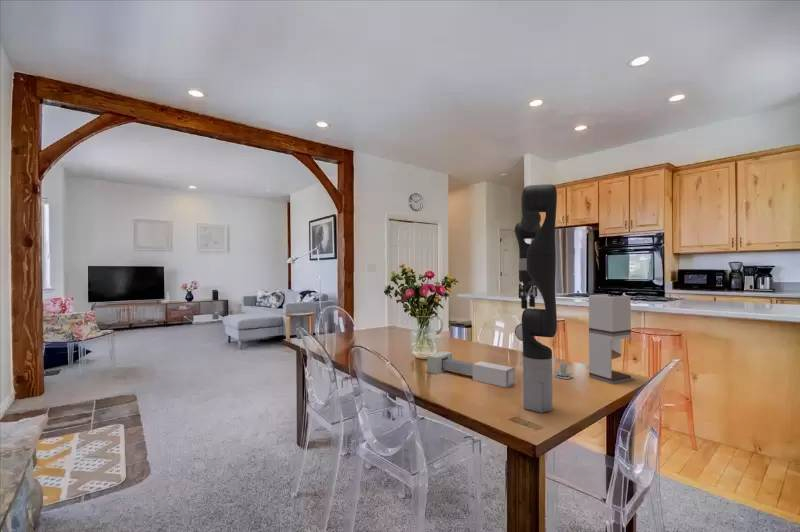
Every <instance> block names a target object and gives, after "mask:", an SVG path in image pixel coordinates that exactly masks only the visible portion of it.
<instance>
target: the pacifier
mask: <svg viewBox="0 0 800 532" xmlns="http://www.w3.org/2000/svg"><path fill="white" fill-rule="evenodd" d="M559 368H560V371H559V370H556V369H554V377H555V378H558V379H563V380H571V379H572V377H571V375H574V373H573V372H567V369H568V365H567V362H564V361H562V362H560V363H559Z"/></svg>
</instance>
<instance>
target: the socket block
mask: <svg viewBox="0 0 800 532" xmlns="http://www.w3.org/2000/svg"><path fill="white" fill-rule="evenodd" d="M443 358H448V359H453V353H452V352H451V351H450V352H449V351H443V350H442V351H438V352H435V353H432V354H428V355H427V356H426V362H427V363H426V364H427V365H426V368H427V369H426V370H427V371H426V372H427V373H431V374H434V375H438V374H439V375H440V374H441V373H444V372H447V371H448V370H445V369H442V359H443Z"/></svg>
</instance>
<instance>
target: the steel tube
mask: <svg viewBox="0 0 800 532" xmlns="http://www.w3.org/2000/svg"><path fill="white" fill-rule="evenodd" d="M473 364H475V363H474V362H468V361H465V360H464V361H463V360H457V359H453V358H452V359H448V358H443V359H442V369H445V370H447V371H451V372H456V373H461V374H464V375H469V376H473Z"/></svg>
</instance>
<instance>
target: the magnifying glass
mask: <svg viewBox="0 0 800 532" xmlns="http://www.w3.org/2000/svg"><path fill="white" fill-rule="evenodd" d="M514 334H515V337H516V338H517V339H518V340H519V341H521V342H523V337H522V323H519V324H518V325H516V326H515V329H514Z"/></svg>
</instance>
